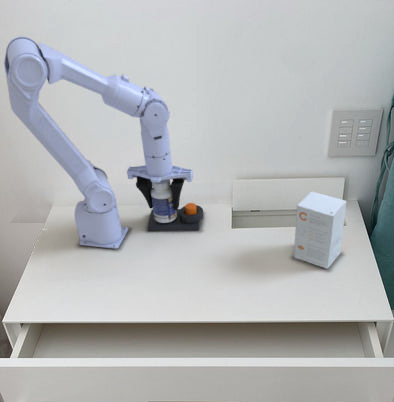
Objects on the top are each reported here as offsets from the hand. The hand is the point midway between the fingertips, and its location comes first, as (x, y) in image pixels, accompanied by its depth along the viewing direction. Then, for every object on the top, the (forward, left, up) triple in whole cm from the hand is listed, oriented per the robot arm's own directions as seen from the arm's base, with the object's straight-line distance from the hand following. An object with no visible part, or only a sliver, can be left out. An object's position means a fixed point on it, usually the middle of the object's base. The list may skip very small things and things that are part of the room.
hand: (164, 206), depth 132 cm
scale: (+2, +1, -5) cm, 5 cm away
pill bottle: (0, 0, -3) cm, 3 cm away
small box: (+36, -7, -5) cm, 37 cm away
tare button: (+6, +2, -2) cm, 6 cm away
